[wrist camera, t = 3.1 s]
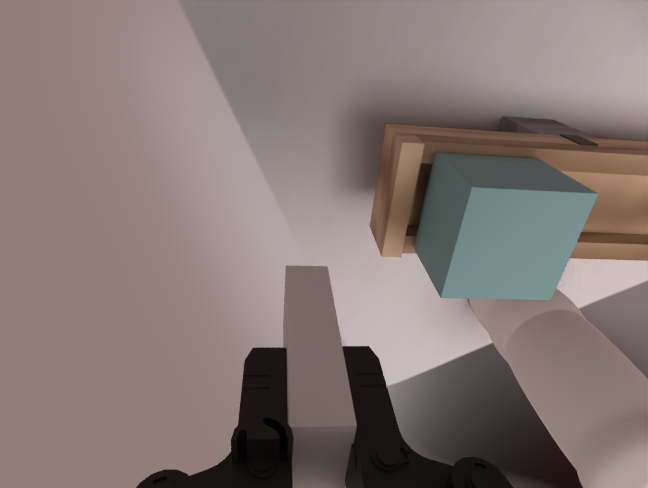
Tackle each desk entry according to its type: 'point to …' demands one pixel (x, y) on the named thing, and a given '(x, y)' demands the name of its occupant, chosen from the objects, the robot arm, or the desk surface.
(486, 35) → the desk surface
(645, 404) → the white bottle
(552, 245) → the block
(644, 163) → the beam
